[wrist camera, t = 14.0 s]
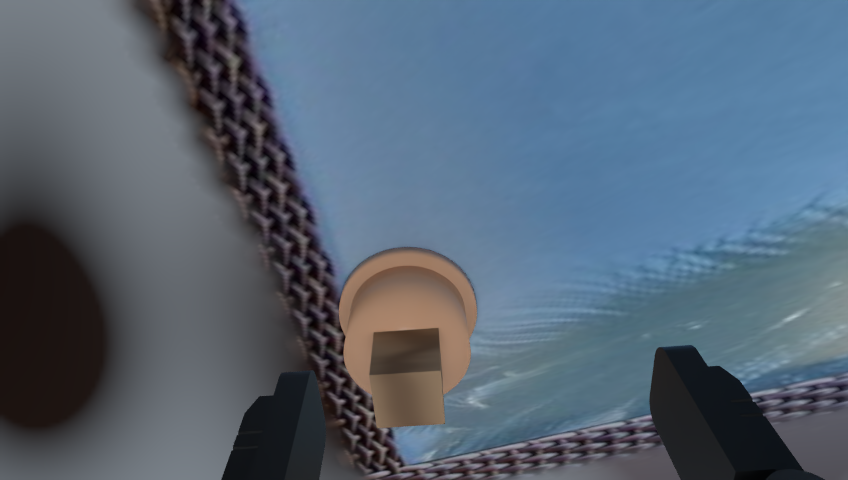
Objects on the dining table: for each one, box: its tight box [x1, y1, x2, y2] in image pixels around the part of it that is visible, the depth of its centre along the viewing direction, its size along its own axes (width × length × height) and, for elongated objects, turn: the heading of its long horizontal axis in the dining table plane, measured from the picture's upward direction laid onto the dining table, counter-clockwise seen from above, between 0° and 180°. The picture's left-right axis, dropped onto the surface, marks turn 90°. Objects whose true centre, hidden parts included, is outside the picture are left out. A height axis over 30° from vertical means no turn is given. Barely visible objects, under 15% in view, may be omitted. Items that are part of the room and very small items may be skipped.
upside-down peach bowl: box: [339, 247, 477, 395], centre depth 50 cm, size 12×12×7 cm
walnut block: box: [369, 328, 445, 428], centre depth 44 cm, size 5×5×5 cm
